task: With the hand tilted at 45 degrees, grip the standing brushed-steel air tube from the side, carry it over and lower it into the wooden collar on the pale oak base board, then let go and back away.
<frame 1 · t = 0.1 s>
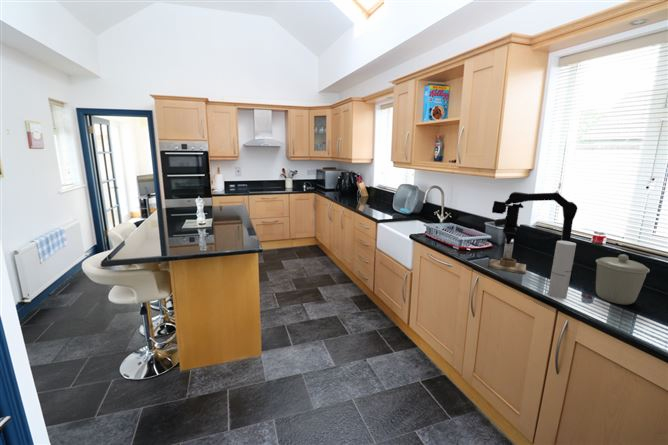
hand: (508, 242, 184), 15 cm above the worktop, tool pointing down, fingers open, 9 cm apart
steel air tube: (506, 261, 197), on the worktop
canister: (614, 300, 147), on the worktop
cylindrical container: (556, 295, 151), on the worktop
wooden collar: (507, 264, 186), resting on oak base board
oak base board: (507, 267, 187), on the worktop
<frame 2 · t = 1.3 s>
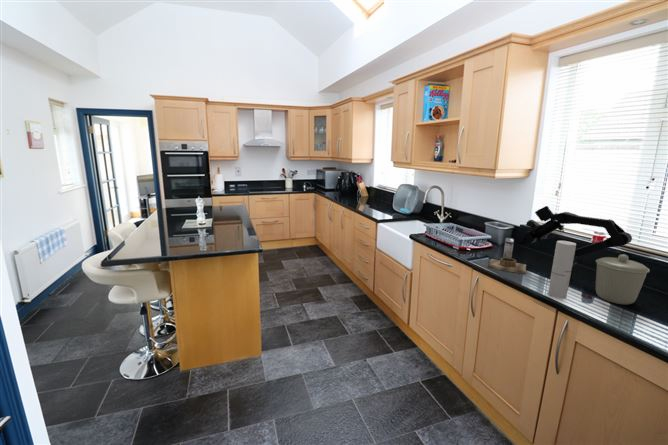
hand: (523, 243, 189), 13 cm above the worktop, tool tilted 45°, fingers open, 9 cm apart
nothing on the worktop moved.
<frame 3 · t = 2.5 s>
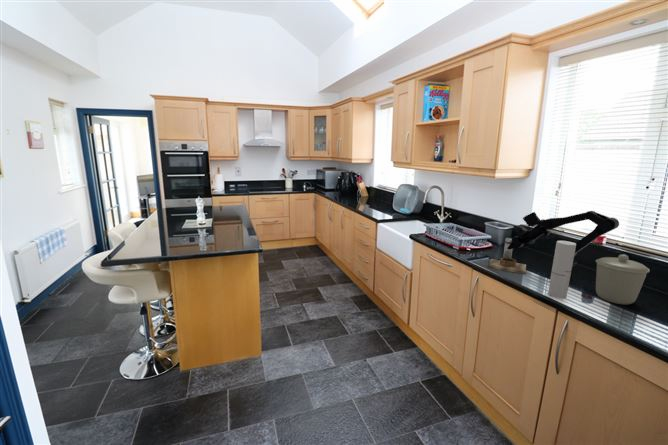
hand: (511, 247, 194), 9 cm above the worktop, tool tilted 45°, fingers open, 9 cm apart
nothing on the worktop moved.
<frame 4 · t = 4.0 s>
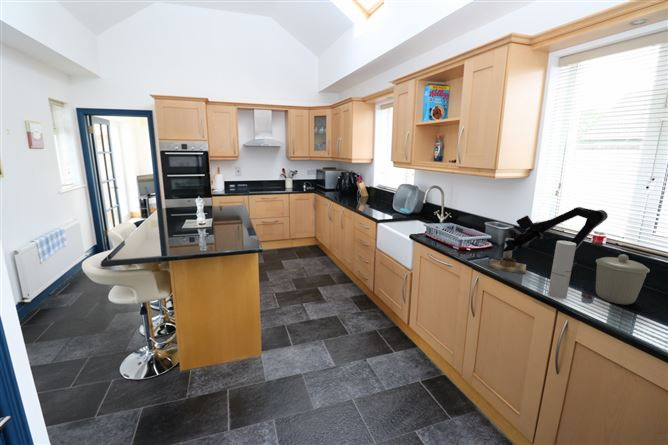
hand: (505, 250, 197), 7 cm above the worktop, tool tilted 45°, fingers closed on steel air tube, 4 cm apart
steel air tube: (506, 261, 197), on the worktop, touching gripper
everything else where it was.
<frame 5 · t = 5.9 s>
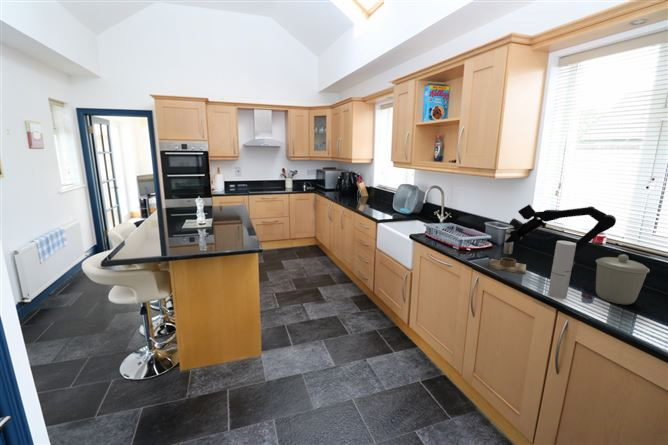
hand: (506, 241, 190), 13 cm above the worktop, tool tilted 45°, fingers closed on steel air tube, 4 cm apart
steel air tube: (507, 253, 191), point 7 cm above the worktop, touching gripper
everything else where it was.
when the fingers open (9 cm above the worktop, at t = 7.7 s): steel air tube drops 1 cm, resting on oak base board.
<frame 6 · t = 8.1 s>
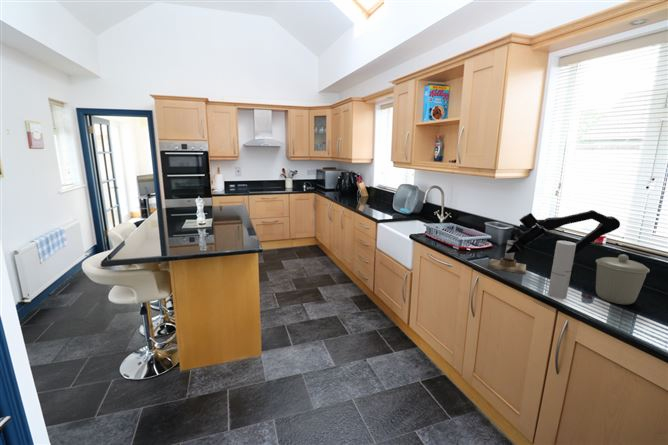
hand: (506, 250, 185), 10 cm above the worktop, tool tilted 45°, fingers open, 9 cm apart
steel air tube: (507, 264, 186), point 2 cm above the worktop, touching oak base board
everything else where it was.
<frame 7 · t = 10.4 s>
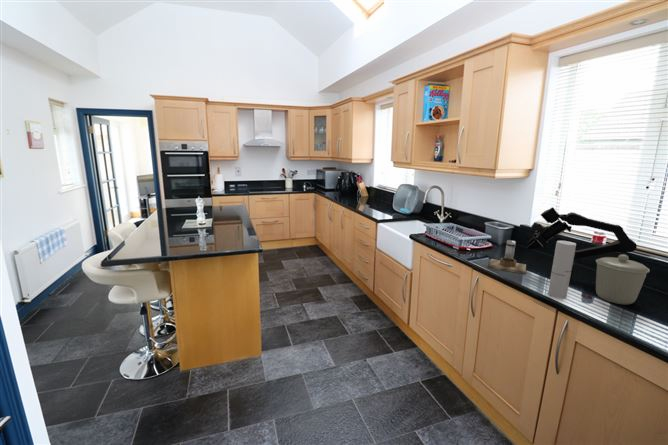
hand: (527, 246, 180), 14 cm above the worktop, tool tilted 45°, fingers open, 9 cm apart
nothing on the worktop moved.
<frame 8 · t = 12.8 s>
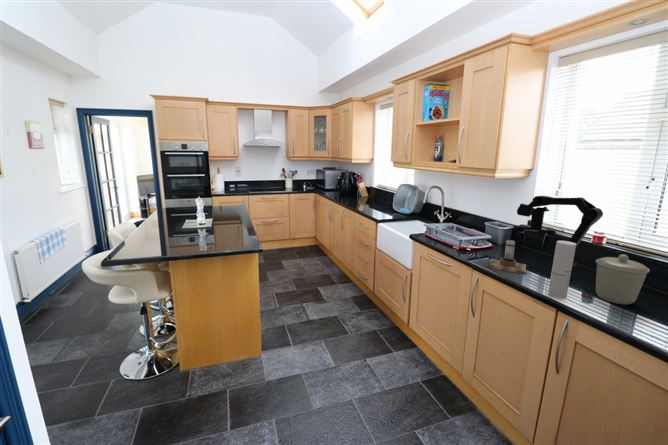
hand: (533, 245, 185), 13 cm above the worktop, tool pointing down, fingers open, 9 cm apart
nothing on the worktop moved.
at the end: steel air tube 0.1 cm off-centre on the oak base board, point 1.5 cm above the oak base board's base; steel air tube tilted 1°; the gripper is holding nothing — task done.
